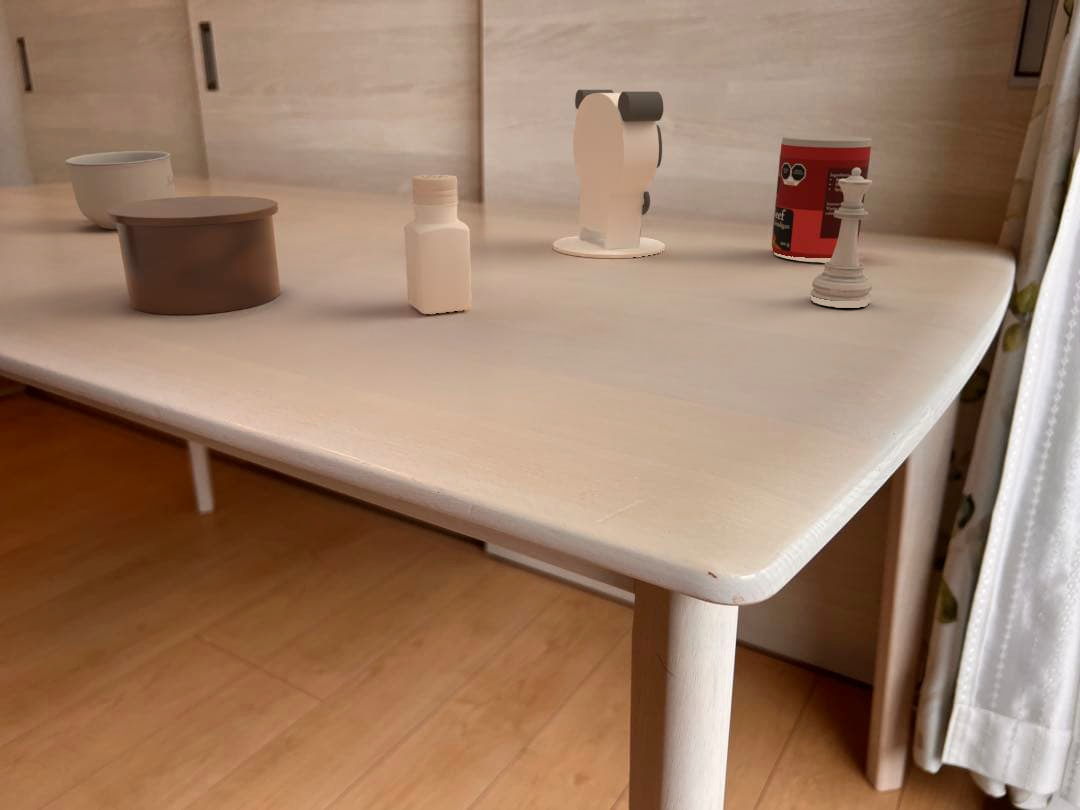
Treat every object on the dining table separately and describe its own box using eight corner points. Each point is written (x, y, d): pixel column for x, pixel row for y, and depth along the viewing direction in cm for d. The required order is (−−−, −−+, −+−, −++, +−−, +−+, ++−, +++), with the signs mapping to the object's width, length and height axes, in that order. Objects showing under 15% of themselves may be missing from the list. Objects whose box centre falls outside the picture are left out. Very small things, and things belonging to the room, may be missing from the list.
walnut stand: (167, 326, 59) (151, 223, 56) (96, 297, 67) (79, 206, 64) (316, 296, 67) (308, 205, 65) (238, 274, 75) (228, 192, 72)
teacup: (196, 225, 100) (186, 154, 97) (99, 236, 92) (86, 159, 89) (145, 213, 109) (135, 147, 106) (53, 223, 101) (39, 152, 98)
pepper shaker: (406, 305, 65) (399, 175, 61) (456, 299, 66) (452, 173, 63) (421, 317, 61) (415, 180, 58) (474, 311, 63) (471, 178, 59)
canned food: (776, 246, 88) (787, 134, 84) (858, 252, 85) (874, 136, 81) (764, 260, 81) (776, 138, 77) (853, 266, 78) (870, 141, 74)
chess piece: (799, 303, 65) (815, 167, 62) (824, 293, 68) (839, 163, 65) (856, 312, 63) (875, 171, 59) (878, 302, 66) (898, 167, 62)
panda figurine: (690, 254, 84) (700, 90, 78) (585, 263, 80) (588, 91, 74) (631, 235, 94) (637, 89, 89) (535, 242, 90) (535, 89, 85)
